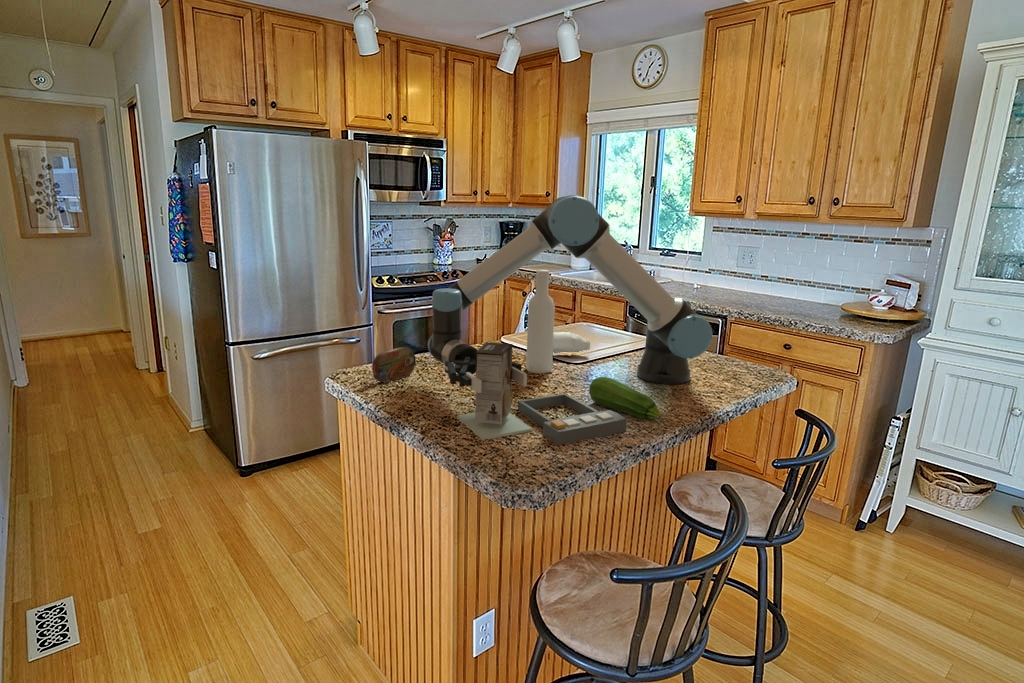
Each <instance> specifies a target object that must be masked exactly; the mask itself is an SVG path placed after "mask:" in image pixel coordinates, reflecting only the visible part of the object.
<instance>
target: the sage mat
mask: <svg viewBox="0 0 1024 683" xmlns="http://www.w3.org/2000/svg"><path fill="white" fill-rule="evenodd" d="M475 416H476V414H475V412H470V413H463V414H459V415H458V414H457V415H456V419H457V418H458V419H459V420H458V419H457V420H458V421H459V422H460V423H462V422H463V423H464V424H465V425H466V426H465V425H464V424H463V423H462V424H463V425H464V426H465V427H467V428H468V429H469V430H470V429H471V430H472V431H473V432H472V431H471V430H470V431H471V432H472V433H473V434H475V435H476V436H477V435H478V436H479V437H480V438H479V437H478V436H477V437H478V438H479V439H480V440H481V441H486V440H485V439H488V440H493V439H498V438H503V436H504V437H507V436H508V437H509V436H513V435H518V434H524V433H529V432H533V428H532V427H530V426H529V425H528V424H526V423H525V422H523V421H522V420H520V419H519V418H518V417H516V416H515V415H513V414H512V413H511V412H510V413H509V414H508V416H507V418H506V419H505V421H504V423H503V424H493V423H482V422H476V420H475V419H476V417H475ZM497 437H498V438H497ZM492 438H493V439H492Z"/></svg>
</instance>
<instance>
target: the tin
mask: <svg viewBox="0 0 1024 683" xmlns="http://www.w3.org/2000/svg"><path fill="white" fill-rule="evenodd" d="M416 360H417V358H416V355H415V352H414V350H412V348H410V347H404V346H403V347H401V346H399V347H397V348H393V349H389V350H387V351H383V352H381V353H378V354H377V355H376V356H375V358H374V360H373V361H372V365H371V366H372V368H371V369H372V370H371V371H372V375H373V378H374V379H375V380H376V381H378V382H381V383H385V384H390V383H392V382H391V381H393V382H395V381H398V380H400V379H403V377H404V378H406V377H409V376H410V375H411V374H412V373H413V371H414V369H415V367H416ZM394 380H395V381H394ZM389 382H390V383H389Z"/></svg>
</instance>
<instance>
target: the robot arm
mask: <svg viewBox="0 0 1024 683" xmlns="http://www.w3.org/2000/svg"><path fill="white" fill-rule="evenodd" d="M610 227H611V226H610V223H609V222H607V221H606V219H605V218H604V217H602V215H601V214H600V213H599V212H598V210H597V208H596V207H595V204H593V202H592V201H590V200H589V199H587V198H586V197H584V196H581V195H578V194H576V195H574V194H571V195H565V196H560V197H558V198H556V199H555V200H552V202H550V204H549V205H548V206H547V207H546V208H545V209H544V210H543V211H542V212H540V214H538V215H537V216H535V218H533V219H532V220H531V221H530V224H529V227H528V228H526V229H525V230H524V231H522V232H521V233H520V234H518V235H516V237H514V238H513V239H511V240H510V241H509V242H507V243H506V244H505V245H503V246H502V247H500V249H498V250H496V251H495V252H494V253H493V254H492V255H490V256H489V257H487V258H486V259H484V260H483V261H482V262H481V263H480V264H478V265H477V266H475V267H474V268H473V269H471V270H470V271H469V272H467V273H466V274H465V275H463V276H462V277H461V278H459V279H458V280H457V281H456V282H454V283H453V284H451V285H450V286H449V287H447V288H446V287H445V288H437V289H436V288H435V290H433V291H432V299H431V300H432V301H431V306H432V307H431V308H432V313H431V315H432V334H431V336H429V339H428V341H427V350H428V353H429V354H430V355H431V356H432V357H433V358H434V359H435V360H436V361H438V362H441V363H442V364H443V365H444V373H445V374H447V376H448V379H449V383H450V384H451V385H455V384H457V382H458V383H459V388H465V386H466V387H468V388H470V389H472V390H473V391H474V392H475V393H476V392H477V393H481V381H482V380H480V379H479V378H477V377H476V375H474V374H476V352H477V351H478V350H479V349H477V348H476V347H474V346H472V345H470V344H468V343H467V342H465V341H462V314H463V313H462V312H463V311H465V310H466V309H468V307H470V306H471V305H472V304H474V303H475V302H476V301H477V300H479V299H481V298H482V297H483V296H484V295H486V294H487V293H489V292H490V291H491V290H493V289H494V288H495V287H497V286H498V285H499V284H501V283H502V282H503V281H505V280H507V279H508V278H509V277H511V275H513V274H514V273H516V272H517V271H519V270H520V269H522V267H523V268H524V266H525V265H526V264H528V263H530V261H532V260H533V259H535V258H537V256H539V255H540V254H542V253H543V252H545V251H546V250H548V251H552V250H553V249H555V248H556V247H558V246H559V245H561V244H562V245H563V247H565V249H566V250H567V251H569V252H570V254H572V255H573V256H574V257H575V259H585V260H586V261H588V262H589V264H590V265H591V266H592V267H594V269H596V270H597V272H598V273H599V274H601V275H602V276H603V277H604V279H605V280H606V281H607V282H609V284H610V285H612V286H613V288H614V289H615V290H617V292H618V293H620V294H621V295H622V297H624V298H625V299H626V301H628V302H629V303H630V304H631V306H633V307H634V308H635V309H636V311H638V312H639V313H640V314H641V315H642V317H644V318H645V319H646V322H647V323H646V333H645V334H646V336H645V347H644V351H643V354H642V357H641V360H640V363H639V364H638V365H637V371H636V376H637V377H638V376H639V377H638V378H640V379H642V380H644V381H647V382H650V381H651V383H656V384H660V385H661V384H663V385H680V384H685V382H686V383H688V382H689V381H690V380H691V370H690V368H689V362H688V359H694V358H697V357H699V356H701V355H703V354H704V353H705V352H706V351H707V349H709V347H710V345H711V342H712V340H713V339H712V338H713V329H712V326H711V324H710V322H709V321H708V320H707V319H706V317H704V316H702V315H700V314H698V313H697V312H696V311H695V310H694V308H692V303H691V301H689V300H686V299H685V300H684V299H683V298H682V297H675V296H674V297H673V296H672V295H671V294H670V293H669V292H668V291H667V290H666V289H665V288H664V287H663V286H662V285H661V284H660V283H659V282H658V281H657V280H656V279H655V278H654V277H653V276H652V275H651V274H650V273H649V272H648V271H647V270H646V269H645V268H644V267H643V266H642V265H641V264H640V263H639V262H638V261H637V260H636V259H635V258H634V257H633V256H632V255H631V254H630V252H628V251H627V250H626V249H625V248H624V247H623V245H622V244H621V243H619V242H618V241H617V240H616V239H615V237H613V236H612V235H611V234H610V233H611V232H610V229H611V228H610ZM522 368H523V367H522V364H521V363H519V362H514V361H512V381H513V382H515V383H517V384H519V385H521V386H522V387H527V386H528V384H527V383H528V373H526V372H524V371H522Z"/></svg>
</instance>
